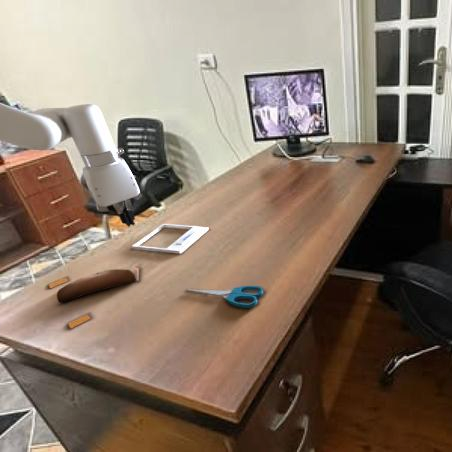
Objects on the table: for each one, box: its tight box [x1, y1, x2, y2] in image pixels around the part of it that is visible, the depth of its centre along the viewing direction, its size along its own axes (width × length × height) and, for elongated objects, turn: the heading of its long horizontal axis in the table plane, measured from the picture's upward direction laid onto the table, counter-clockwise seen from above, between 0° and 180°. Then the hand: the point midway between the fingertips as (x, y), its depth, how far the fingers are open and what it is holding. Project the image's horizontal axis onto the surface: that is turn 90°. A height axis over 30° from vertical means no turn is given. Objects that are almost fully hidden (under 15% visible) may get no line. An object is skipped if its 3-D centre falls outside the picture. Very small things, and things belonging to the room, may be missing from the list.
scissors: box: [186, 285, 264, 309], centre depth 86 cm, size 7×1×20 cm
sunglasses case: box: [56, 267, 140, 304], centre depth 93 cm, size 18×7×7 cm
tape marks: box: [48, 277, 91, 330], centre depth 89 cm, size 4×25×1 cm, turn 46°
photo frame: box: [131, 223, 210, 254], centre depth 113 cm, size 15×1×18 cm
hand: (129, 223), depth 94 cm, fingers closed
